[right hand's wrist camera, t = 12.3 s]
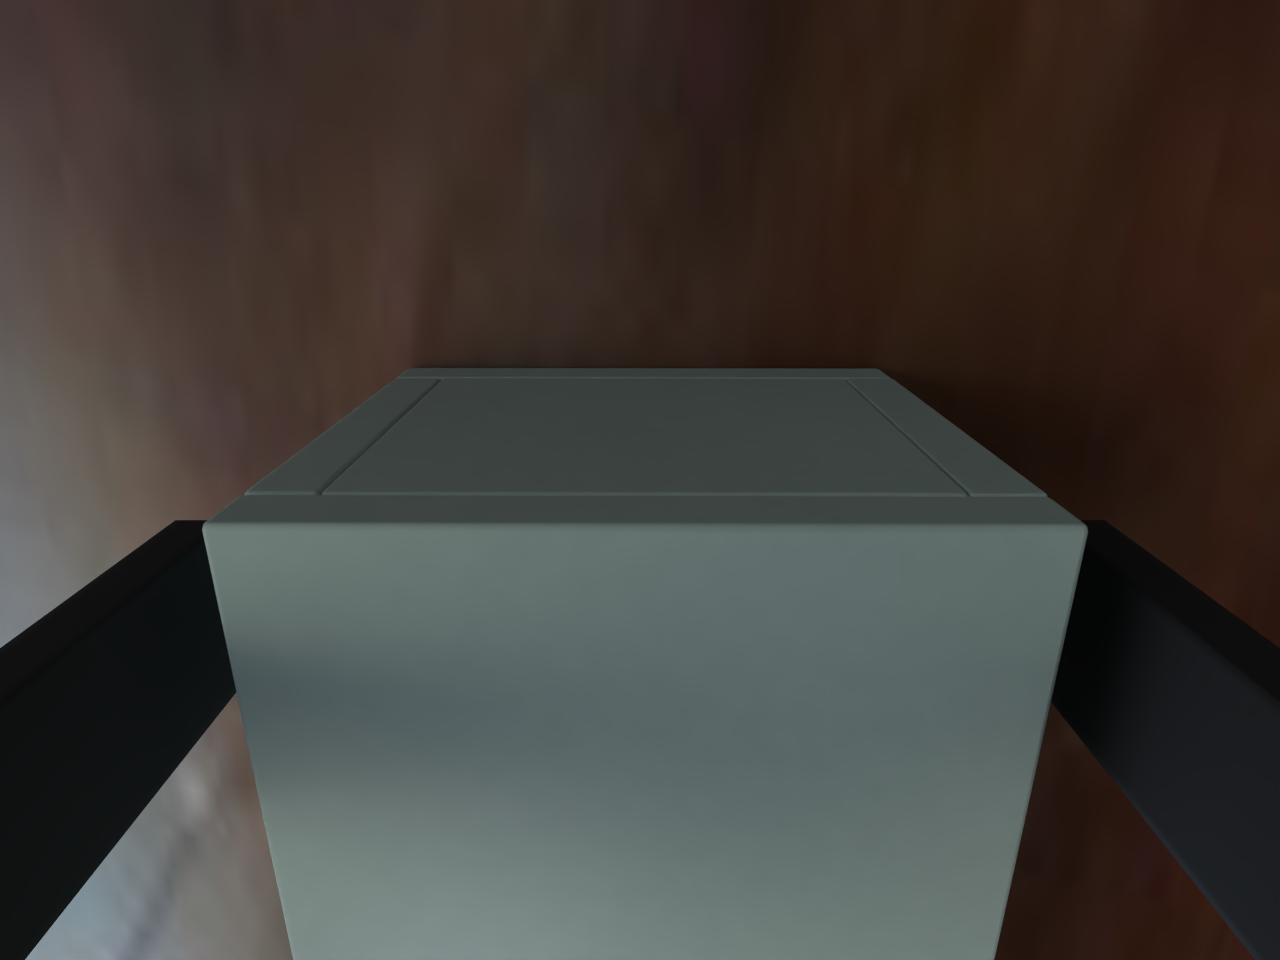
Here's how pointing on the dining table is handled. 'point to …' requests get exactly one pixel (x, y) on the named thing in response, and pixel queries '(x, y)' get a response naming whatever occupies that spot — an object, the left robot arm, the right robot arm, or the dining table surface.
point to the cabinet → (644, 668)
